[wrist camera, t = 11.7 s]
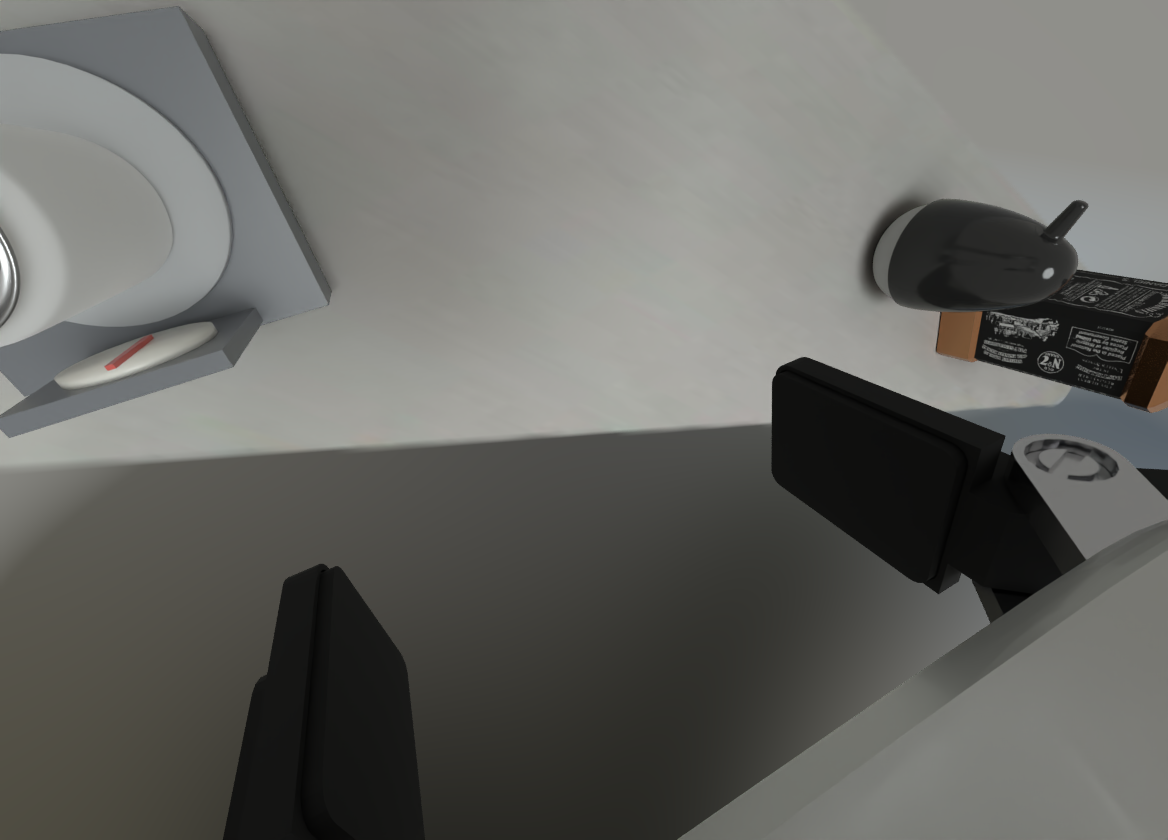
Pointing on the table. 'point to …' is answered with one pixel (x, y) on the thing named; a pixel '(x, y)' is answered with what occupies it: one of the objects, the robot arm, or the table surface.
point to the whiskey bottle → (1077, 338)
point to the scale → (191, 198)
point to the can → (70, 229)
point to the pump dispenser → (974, 257)
